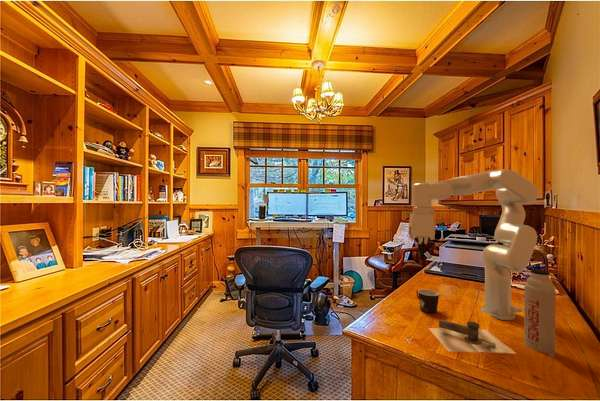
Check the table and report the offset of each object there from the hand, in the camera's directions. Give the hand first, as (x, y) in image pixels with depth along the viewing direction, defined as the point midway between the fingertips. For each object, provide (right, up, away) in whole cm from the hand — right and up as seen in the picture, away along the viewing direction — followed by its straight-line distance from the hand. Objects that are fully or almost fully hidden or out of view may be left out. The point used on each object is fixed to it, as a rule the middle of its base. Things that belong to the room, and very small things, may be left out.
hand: (421, 252), depth 117 cm
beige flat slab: (+8, -29, -20) cm, 36 cm away
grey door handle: (+7, -27, -20) cm, 34 cm away
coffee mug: (+5, -29, +6) cm, 30 cm away
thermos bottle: (+30, -30, -25) cm, 48 cm away
